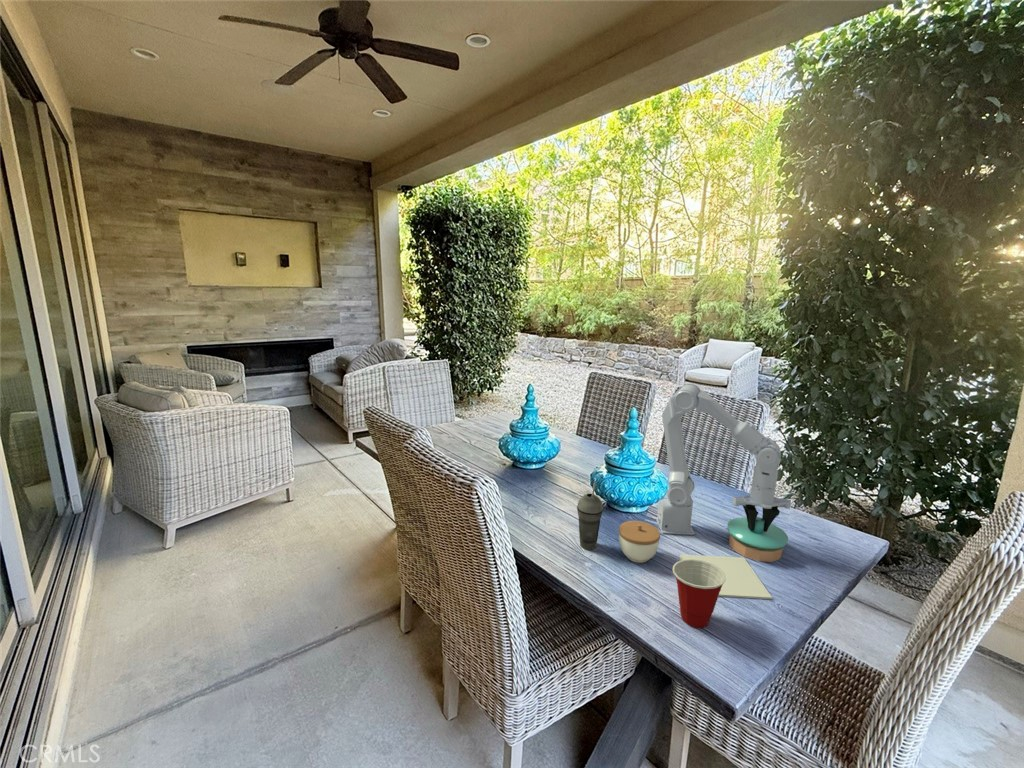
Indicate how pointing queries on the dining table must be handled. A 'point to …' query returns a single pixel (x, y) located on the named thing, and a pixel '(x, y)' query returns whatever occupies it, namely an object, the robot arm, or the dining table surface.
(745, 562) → the mat
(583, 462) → the dining table surface
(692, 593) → the plastic cup
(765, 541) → the lid
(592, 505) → the beverage cup
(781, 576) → the dining table surface
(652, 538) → the lidded jar
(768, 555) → the bowl
